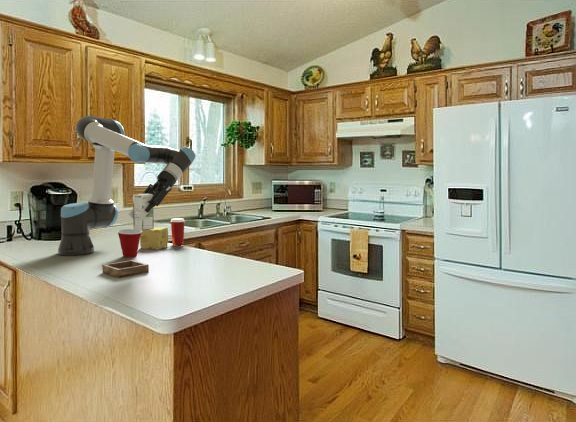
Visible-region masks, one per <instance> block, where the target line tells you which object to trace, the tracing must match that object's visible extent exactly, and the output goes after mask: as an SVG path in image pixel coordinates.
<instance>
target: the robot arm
mask: <svg viewBox="0 0 576 422" xmlns="http://www.w3.org/2000/svg"><path fill="white" fill-rule="evenodd" d="M75 131H76V135H77V136H78V137H79V138H80V139H82V140H84V141H87V142H89V143H91V144H92V146H93V148H94V149H95V150H94V151H95V152H94V165H93V178H92V179H93V180H92V191H91V198H89V199H88V201H87V202H75V203H74V202H73V203H68V204H64V205H62V207H61V208H60V220H61V222H60V223H61V239H60V242H59V246H58V248H57V255H60V256H70V257H71V256H81V255H89V254H92V253H93V254H94V252H95V246H94V244H93V241H92V239H91V238H92V237H91V236H90V230H93V229H100V228H102V229H104V228H107V227H111V226H113V225H114V224H115V223H116V222H117V220H118V217H119V209H118V207H117V206H116V205H115V201H114V200H112V187H113V177H114V176H113V175H114V163H115V152H117V153H120V154H122V155H124V156H126V157H128V158H129V159H130V160H131V161H132V162H134V163H139V164H145V163H146V164H163V165H165V166H164V167H163V169H162V170H161V171H160V172H159V174H158V175H157V176H156V179H157V181H156V182H155V183H153V184H152V183H150V184H149V185H148V186H147V188H146V189H145V190H144V191H143V192H142V193H141V194H153V197H152V199H151V200H150V201H148V203H147V204H146V205H145V206H144V207H143V209H142V210H141V211H140V212H139V213H138V215H137V216H138V217H139V218H140V219H141V220H143V219H144V217H145V216H146V215H147V214H148V213H149V211H150V210H151V209H152V208H153V209H154V208H155V207H158V206H160V204H161V203H162V201H163V200H164V199H165V198H166V196H167V195H168V194H169V192H171V191H172V189H173V187H174V186H175V184H176V183H177V181H178V180H180V179H181V177H182V176H183V174H184V173H185V172H186V171H187V169H188V168H189V167H190V166H191V165H192V164H193V163H194V161H195V160H196V153H195V151H194V150H193V149H192V148H190V147H189V146H182V147H180V148H179V149H174V148H171V147H167V146H165V145H160V144H159V145H158V144H156V145H149V144H145V143H142V142H140V141H139V140H135V139H133V138H130V137H128V136H126V134H125V130H124V127H123V125H122V124H121V123H120V122H119V121H117V120H115V119H112V118H106V117H105V118H104V117H101V116H93V115H86V116H83V117H81V118H79V119H78V120H77V122H76V123H75ZM127 215H128V216H129V217H130V218H131V219H133V208H132V209H131V210H130V211H129V212H128V213H127Z"/></svg>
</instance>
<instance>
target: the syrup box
mask: <svg viewBox="0 0 576 422" xmlns="http://www.w3.org/2000/svg"><path fill="white" fill-rule="evenodd" d="M152 197H153V194H142V193H134V194H132V209H133V218H132V219H133V220H132V221H133V223H132V224H133V228H132V229H134V230H149V229H154V228H155V226H154V220H155V219H154V216H155V215H154V207H153V208H152V209H151V210H150V211H149V213H148V214H147V215H146V216H145V217H144V219H143V220H141V219H140V218H139V217H138V216H137V215H138V213H139V212H140V211H141V210H142V209H143V207H144V206H145V205H146V204H147V203H148V201H150V200H151V199H152Z"/></svg>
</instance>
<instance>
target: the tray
mask: <svg viewBox="0 0 576 422" xmlns="http://www.w3.org/2000/svg"><path fill="white" fill-rule="evenodd" d="M101 266H102V267H101V268H102V274H104V275H108V276H110V277H115V278H117V279H121V278H127V277H132V276H137V275H141V274H142V275H143V274H147V273H150V271H149V269H150V267H149V264H148V263H144V262H140V261H136V260H134V259H130V260H126V261H117V262H113V263H106V264H102V265H101Z"/></svg>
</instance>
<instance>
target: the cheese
mask: <svg viewBox="0 0 576 422" xmlns="http://www.w3.org/2000/svg"><path fill="white" fill-rule="evenodd" d="M168 229H169V228H168V227H154V229H149V230H141V231H143V232H142V233H141V236H140V240H139V245H140V249H143V250H144V249H147V250H149V249H151V250H160V249H163V248H166V247H168V244H169V243H168V242H169V230H168Z"/></svg>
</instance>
